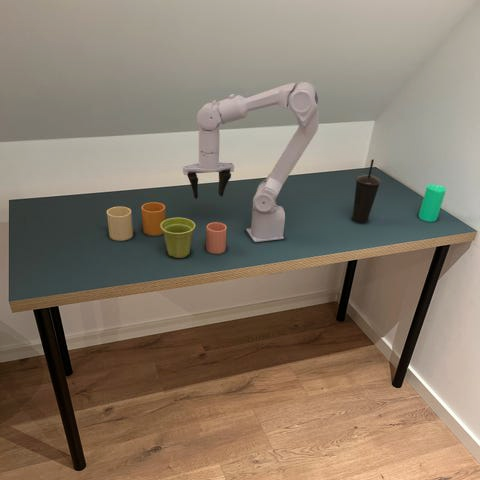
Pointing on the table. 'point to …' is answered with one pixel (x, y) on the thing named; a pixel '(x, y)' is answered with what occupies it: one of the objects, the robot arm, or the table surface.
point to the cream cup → (120, 223)
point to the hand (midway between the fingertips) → (208, 196)
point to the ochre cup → (153, 218)
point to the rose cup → (216, 237)
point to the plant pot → (178, 236)
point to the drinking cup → (364, 196)
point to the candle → (432, 202)
